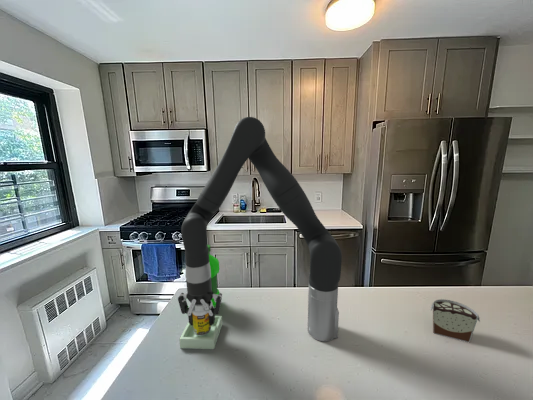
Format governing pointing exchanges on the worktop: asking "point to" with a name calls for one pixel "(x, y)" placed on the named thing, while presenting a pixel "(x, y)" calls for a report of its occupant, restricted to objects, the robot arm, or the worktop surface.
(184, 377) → the worktop surface
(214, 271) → the plastic bottle
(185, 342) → the tray
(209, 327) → the supplement bottle
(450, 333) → the mint chocolate cake slice
